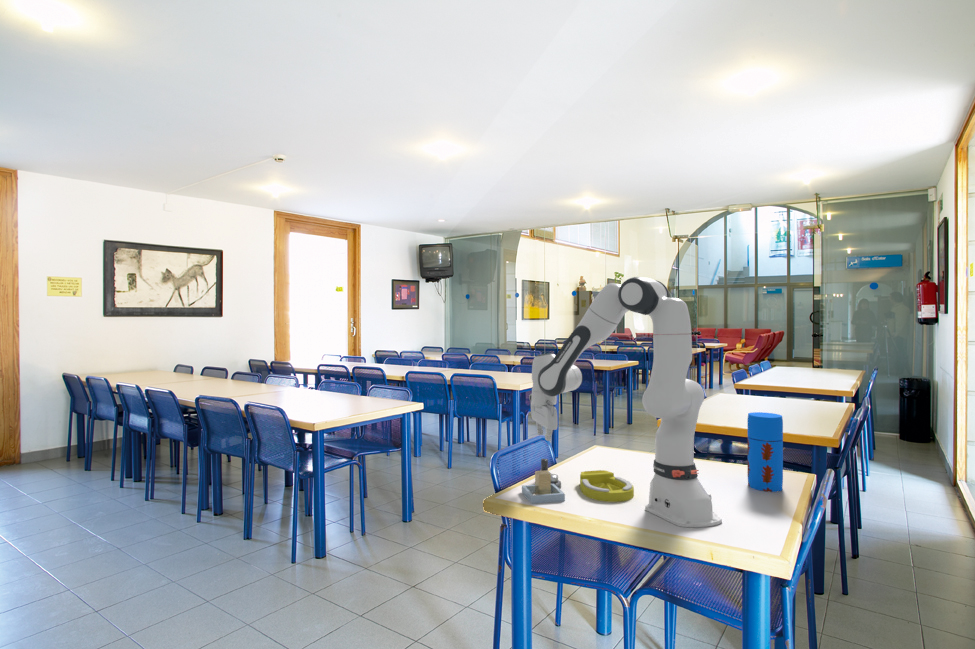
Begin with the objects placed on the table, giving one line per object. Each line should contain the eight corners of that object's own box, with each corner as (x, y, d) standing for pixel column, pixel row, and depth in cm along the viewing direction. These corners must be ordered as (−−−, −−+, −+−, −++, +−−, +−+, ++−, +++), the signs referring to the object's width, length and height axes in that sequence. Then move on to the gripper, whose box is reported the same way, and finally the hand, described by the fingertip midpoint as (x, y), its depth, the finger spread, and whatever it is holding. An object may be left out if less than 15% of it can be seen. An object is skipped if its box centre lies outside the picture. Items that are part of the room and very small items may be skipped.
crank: (559, 483, 181) (559, 466, 181) (547, 483, 180) (547, 467, 180) (549, 473, 192) (549, 458, 192) (537, 474, 191) (537, 459, 191)
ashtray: (614, 483, 190) (614, 469, 190) (643, 502, 170) (642, 487, 170) (570, 486, 187) (570, 472, 186) (594, 506, 166) (594, 490, 166)
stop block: (550, 498, 171) (550, 473, 171) (538, 499, 170) (538, 474, 170) (546, 494, 175) (546, 470, 175) (535, 495, 174) (535, 471, 174)
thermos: (750, 490, 180) (750, 416, 180) (745, 481, 190) (744, 411, 190) (786, 493, 177) (786, 418, 176) (779, 484, 187) (779, 413, 187)
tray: (564, 503, 168) (564, 493, 168) (531, 505, 166) (531, 496, 166) (553, 492, 179) (553, 483, 179) (521, 494, 177) (521, 485, 177)
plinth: (563, 491, 180) (563, 484, 180) (519, 494, 177) (519, 487, 177) (557, 485, 186) (557, 478, 186) (514, 488, 183) (514, 481, 183)
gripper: (562, 403, 181) (562, 443, 181) (544, 394, 201) (543, 431, 201) (544, 403, 179) (544, 444, 180) (527, 395, 199) (527, 431, 200)
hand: (544, 437), depth 190 cm, fingers open, 8 cm apart
